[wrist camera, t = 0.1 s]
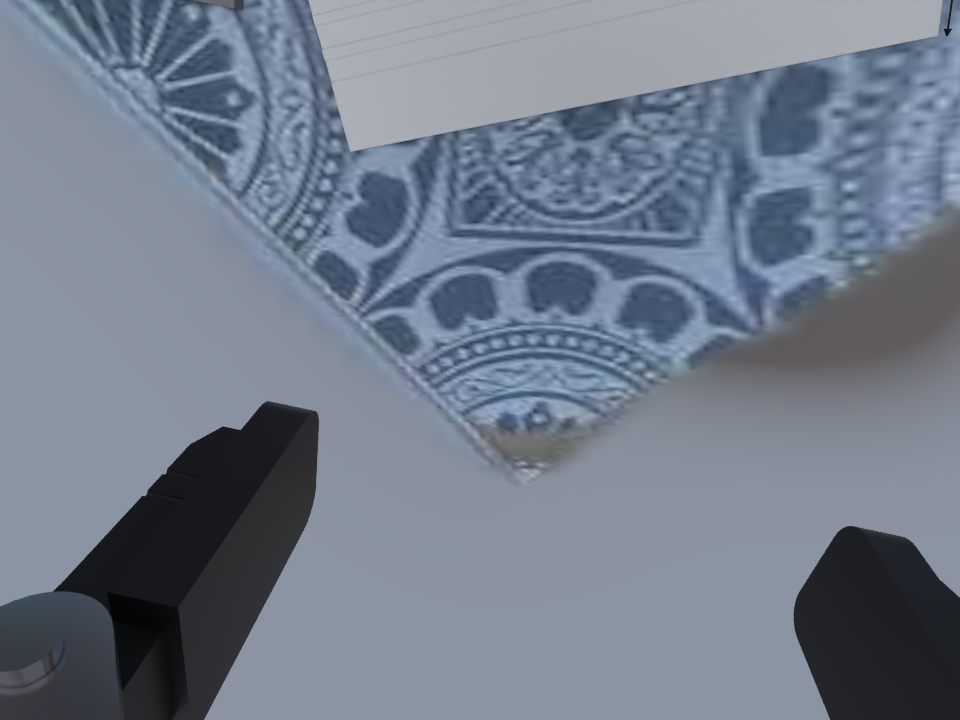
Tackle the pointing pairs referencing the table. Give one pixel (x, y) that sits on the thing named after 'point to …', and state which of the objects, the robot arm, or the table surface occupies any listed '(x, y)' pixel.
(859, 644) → the robot arm
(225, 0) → the mat
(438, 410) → the table surface
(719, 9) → the baseboard molding
